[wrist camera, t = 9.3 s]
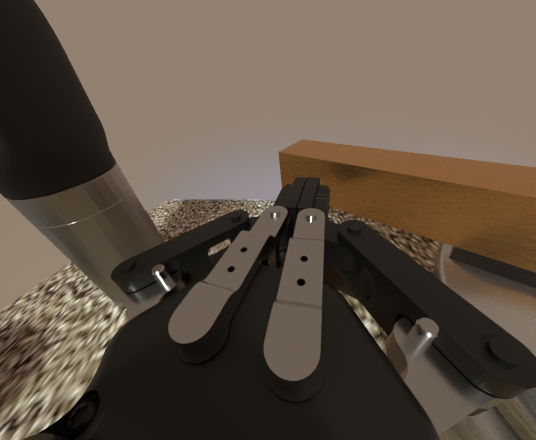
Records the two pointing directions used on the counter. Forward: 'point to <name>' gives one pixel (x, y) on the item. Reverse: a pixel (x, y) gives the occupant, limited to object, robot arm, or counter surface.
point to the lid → (447, 227)
